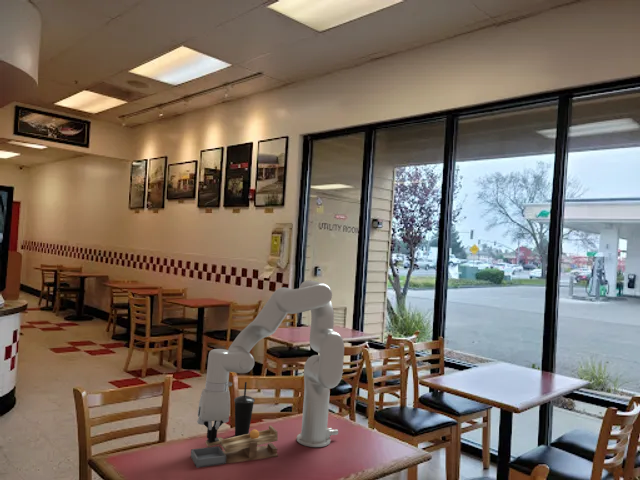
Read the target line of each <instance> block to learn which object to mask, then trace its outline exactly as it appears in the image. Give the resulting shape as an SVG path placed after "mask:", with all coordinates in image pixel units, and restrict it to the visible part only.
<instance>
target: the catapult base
mask: <svg viewBox="0 0 640 480" xmlns="http://www.w3.org/2000/svg"><path fill="white" fill-rule="evenodd" d="M243 435H245V434H243ZM222 451H223V452H224V453H225V455H226V464H232V463H234V464H235V463H240V462H241V463H242V462H248V461H255V460H262V459H269V458H270V459H271V458H278V457H279V454H278V448H277V447H276V446H275V444H273V442H270V443H267V445H259V446H258V445H257V442H250V447H248V448H244V449H240V450H236V451H231V452H227V453H226V451H225V450H222Z"/></svg>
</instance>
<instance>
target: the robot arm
mask: <svg viewBox="0 0 640 480" xmlns="http://www.w3.org/2000/svg"><path fill="white" fill-rule="evenodd" d="M332 299H333V292H332V289H331V287H330V286H329V285H328V284H326V283H323V282H319V281H315V280H306V281H305V280H304V281H303V282H302V283H300V285H299V287H298V288H294V289H293V288H289V287H279V288H277V289H276V290H274V292H273V293H272V295H271V296H270V297H269V299H268V300H267V301H266V303H265V304H264V305H263V307H262V308H261V310H260V311H259V313H258V314H257V315H256V317H254V319H253V321H251V322H250V323H249V324H248V325H246V326H245V327H244V328H243V329H242V330H241V331H240V333H239V334H238V335H237V336H236V337H235V339H234V340H233V341H232V342H231V344H230V346H229V347H228V349H225V348H224V349H223V348H214V349H211V350H210V351H209V352H208V357H207V365H206V366H207V367H206V368H207V369H206V378H205V379H206V380H205V387H204V388H203V389H202V391H201V395H200V398H199V403H198V407H197V408H198V409H197V417H198V418H197V421H196V422H197V425H202V426H205V427H206V428H207V431H206V440H209V441H210V442H212V441H213V442H215V438H218V437H217V436H218V430H219V429H220V427H221V426H222V425H224V424H225V423H229V421H230V412H231V411H230V409H231V397H230V390H229V387H232V386H233V382H231V381H229V378H230V373H237V374H246V373H249V372H250V371H252V370H253V368H254V366H255V358H254V356H253V354H252V353H250V352H251V350H252V349H253V348H254V347H255V346H256V344H257V343H259V342H260V341H261V340H263V339H264V338H267V337H269V336H271V335H273V334H275V333H276V331H277V329H278V328H279V327H280V326H281V324H282V323H283V321H284V320H285V318H286V317H287V316H288V314H289V315H291V314H294V315H295V314H301V313H305V312H309V311H310V316H311V317H310V318H311V319H310V321H311V322H310V330H309V331H310V332H309V346H310V348H311V349H312V350H313V351H314V352H316V353H318V354H313V355H311V356H310V357H308V358H307V360H306V361H305V362H304V366H303V376H304V377H303V380H304V393H303V404H302V406H303V407H302V416H301V417H302V419H301V432H300V433H299V434H297V436H296V441H297V442H298V443H299V444H300V445H302V446H304V447H309V448H322V447H326V446H329V445H330V444H331V436H337V435H339V429H334V428H332V427H328V421H329V409H330V408H329V407H330V406H329V405H330V394H331V393H330V392H331V391H330V389H334V388H336V387H338V385H339V384H340V382H341V380H342V377H343V369H344V358H345V343H344V339H343V337H342V336H341V334H340V333H338V332H337V331H335V330H334V324H335V323H334V322H335V321H334V320H335V318H334V317H335V315H334V314H335V312H334V308H333V307H334V306H333V303H332V301H331V300H332ZM212 424H213V425H212Z"/></svg>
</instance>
